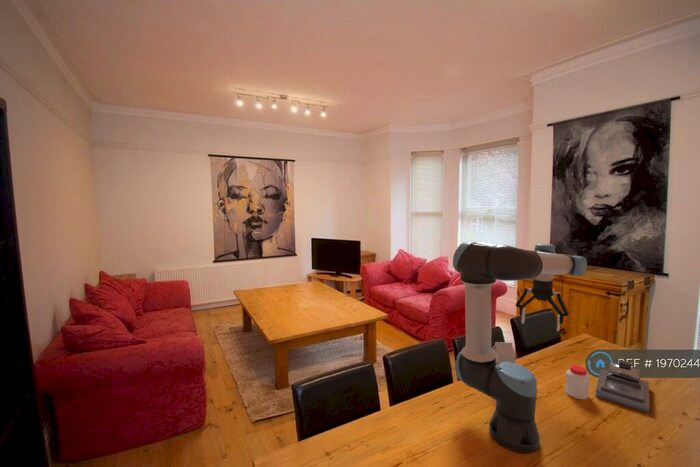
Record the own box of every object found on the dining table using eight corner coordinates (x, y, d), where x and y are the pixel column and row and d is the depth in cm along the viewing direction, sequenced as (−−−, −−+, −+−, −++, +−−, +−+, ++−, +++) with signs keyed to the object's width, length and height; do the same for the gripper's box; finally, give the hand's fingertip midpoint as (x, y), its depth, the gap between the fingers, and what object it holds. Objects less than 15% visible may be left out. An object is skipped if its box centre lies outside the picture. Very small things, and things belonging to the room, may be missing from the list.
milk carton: (513, 389, 137) (516, 346, 135) (496, 389, 137) (498, 346, 135) (506, 380, 144) (508, 339, 142) (489, 380, 144) (491, 338, 142)
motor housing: (648, 413, 122) (651, 387, 121) (595, 396, 133) (597, 372, 132) (647, 388, 138) (650, 365, 137) (600, 375, 149) (602, 354, 148)
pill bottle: (561, 391, 136) (562, 365, 135) (572, 386, 140) (574, 362, 138) (580, 401, 129) (582, 374, 128) (592, 396, 133) (594, 370, 131)
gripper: (578, 282, 137) (575, 331, 139) (514, 273, 153) (511, 317, 155) (576, 285, 132) (573, 336, 134) (509, 276, 147) (507, 322, 149)
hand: (540, 326), depth 144 cm, fingers open, 13 cm apart
